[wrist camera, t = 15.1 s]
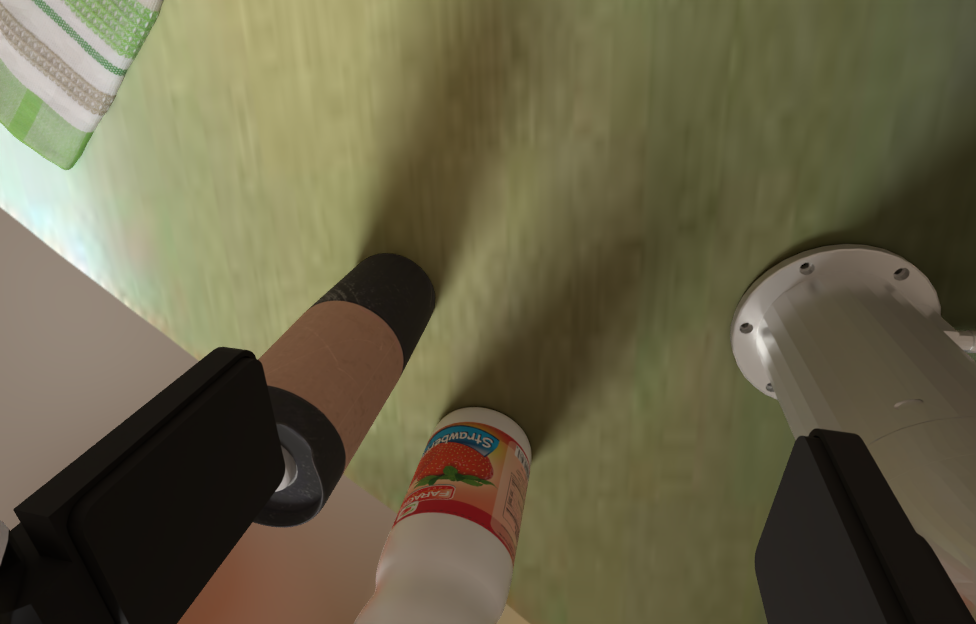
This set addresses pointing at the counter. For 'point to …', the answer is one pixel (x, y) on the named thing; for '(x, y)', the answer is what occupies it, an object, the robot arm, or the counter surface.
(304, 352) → the travel mug
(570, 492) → the counter surface
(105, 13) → the dish towel
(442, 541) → the fruit juice
